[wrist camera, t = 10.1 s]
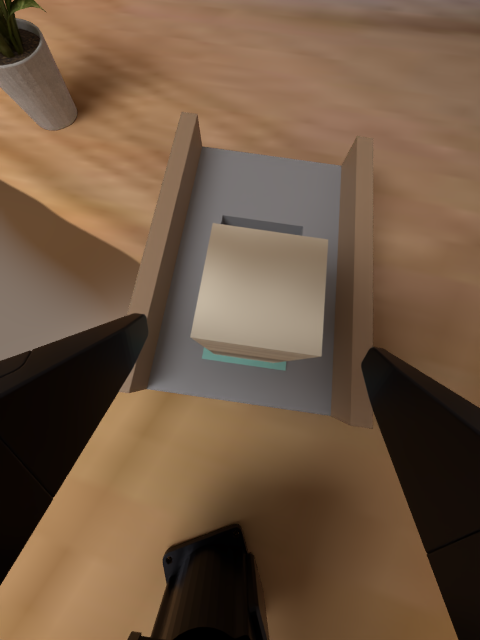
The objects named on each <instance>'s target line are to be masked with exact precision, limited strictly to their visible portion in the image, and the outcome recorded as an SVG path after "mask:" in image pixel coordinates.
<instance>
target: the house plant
mask: <svg viewBox="0 0 480 640" xmlns="http://www.w3.org/2000/svg"><path fill="white" fill-rule="evenodd" d="M5 4H6V6H5ZM0 6H1V7H0V87H1V88H2V89H3V90H4V91H5V92H6V93H7V94H8V95H9V96H10V97H11V98H12V99H13V100H14V101H15V102H16V103H17V104H18V105H19V106H20V107H21V108H22V109H23V110H24V111H25V112H26V113H27V114H28V115H29V116H30V117H31V118H32V119H33V120H34V121H35V122H36V123H37V124H38V125H39V126H40V127H42V128H44V129H47V130H59V129H62V128H64V127H67V126H69V125H70V124H72V123H73V122H74V121H75V119H76V117H77V109H76V106H75V104H74V102H73V100H72V98H71V96H70V93H69V91H68V89H67V87H66V85H65V82H64V80H63V78H62V76H61V74H60V72H59V69H58V67H57V65H56V63H55V61H54V59H53V56H52V54H51V52H50V50H49V48H48V45H47V43H46V41H45V39H44V37H43V35H42V33H41V31H40V30H39V28H38V27H37V26H35V25H34V24H33V23H31V22H29V21H26V20H23V19H18V18H15V14H14V12H16V11H18V10H20V9H24V8H28V7H37V8H41V7H40V6H39V5H38V4H37V3H36V2H35V1H34V0H14V1H13V2H11V0H5V3H4V0H0ZM6 8H7V9H6ZM41 9H42V8H41ZM42 10H43V9H42ZM44 11H45V10H44ZM45 12H46V11H45ZM3 14H4V15H3Z"/></svg>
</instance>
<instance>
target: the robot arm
mask: <svg viewBox="0 0 480 640" xmlns="http://www.w3.org/2000/svg"><path fill="white" fill-rule="evenodd" d="M147 337H148V324H147V317H146V315H145V314H140V313H133V314H130V315H127V316H124V317H122V318H119V319H116V320H114V321H111V322H108V323H105V324H103V325H99V326H97V327H94V328H91V329H88V330H86V331H83V332H80V333H78V334H75V335H72V336H69V337H66V338H63V339H61V340H58V341H55V342H52V343H50V344H47V345H44V346H41V347H38V348H36V349H33V350H32V351H27V352H24V353H22V354H19V355H16V356H13V357H10V358H7V359H5V360H2V361H0V585H1V584H2V582H3V580H4V579H5V577H6V575H7V574H8V572H9V571H10V569H11V567H12V566H13V564H14V562H15V561H16V559H17V557H18V556H19V554H20V553H21V551H22V549H23V548H24V546H25V544H26V543H27V541H28V540H29V538H30V536H31V535H32V533H33V531H34V530H35V528H36V526H37V525H38V523H39V522H40V520H41V518H42V517H43V515H44V513H45V512H46V510H47V508H48V507H49V505H50V504H51V502H52V500H53V497H55V495H56V493H57V492H58V490H59V488H60V487H61V485H62V484H63V482H64V480H65V479H66V477H67V475H68V474H69V472H70V471H71V469H72V467H73V466H74V464H75V462H76V461H77V459H78V457H79V456H80V454H81V453H82V451H83V449H84V448H85V446H86V444H87V443H88V441H89V439H90V438H91V436H92V435H93V433H94V431H95V430H96V428H97V426H98V425H99V423H100V422H101V420H102V418H103V417H104V415H105V413H106V412H107V410H108V408H109V407H110V405H111V404H112V402H113V400H114V399H115V397H116V395H117V394H118V392H119V390H120V389H121V387H122V386H123V384H124V382H125V381H126V379H127V377H128V376H129V374H130V372H131V371H132V369H133V367H134V365H135V363H136V361H137V359H138V357H139V354H140V352H141V350H142V348H143V346H144V344H145V341H146V339H147ZM361 369H362V373H363V377H364V381H365V385H366V389H367V393H368V397H369V400H370V404H371V406H372V409H373V412H374V415H375V417H376V420H377V423H378V425H379V428H380V431H381V433H382V436H383V439H384V441H385V444H386V447H387V449H388V452H389V455H390V457H391V460H392V463H393V465H394V468H395V471H396V473H397V476H398V479H399V481H400V484H401V487H402V489H403V492H404V495H405V497H406V500H407V503H408V505H409V508H410V511H411V513H412V516H413V519H414V521H415V524H416V527H417V529H418V532H419V535H420V537H421V540H422V543H423V546H424V548H425V551H426V553H428V554H427V557H428V559H429V562H430V565H431V567H432V570H433V573H434V575H435V578H436V581H437V583H438V586H439V589H440V591H441V594H442V597H443V599H444V602H445V605H446V608H447V610H448V613H449V616H450V618H451V621H452V624H453V626H454V629H455V632H456V634H457V637H458V640H480V408H479V407H477V406H475V405H474V404H472V403H471V402H469V401H467V400H466V399H464V398H463V397H461V396H459V395H458V394H456V393H454V392H453V391H451V390H450V389H448V388H446V387H445V386H443V385H441V384H440V383H438V382H437V381H435V380H433V379H432V378H430V377H428V376H427V375H425V374H424V373H422V372H420V371H419V370H417V369H416V368H414V367H412V366H411V365H409V364H407V363H406V362H404V361H403V360H401V359H399V358H398V357H396V356H394V355H393V354H391V353H390V352H388V351H386V350H385V349H383V348H377V347H371V348H370V349H369V350H368V352H367V354H366V355H365V357H364V359H363V361H362V363H361ZM234 531H238V532H239V533H238V534H236V535H235V534H234ZM168 556H170V557H172V559H171V560H169V559H168V558H167V557H168ZM163 567H164V572H165V577H166V583H167V586H166V589H165V592H164V595H163V598H162V602H161V605H160V608H159V611H158V614H157V618H156V621H155V624H154V627H153V630H152V634H151V637H144V636H141V633H140V632H134V631H132V632H131V634H130V636H129V638H128V640H269V633H268V625H267V617H266V609H265V602H264V594H263V588H262V585H261V581H260V577H259V573H258V569H257V566H256V562H255V558H254V555H253V554H252V553H251V552H250V553H248V551H247V547H246V543H245V539H244V535H243V531H242V528H241V526H240V525H239V524H233V525H230V526H228V527H225V528H223V529H220V530H217V531H215V532H212V533H209V534H207V535H204V536H201V537H199V538H196V539H194V540H191V541H188V542H186V543H183V544H180V545H178V546H175V547H172V548H170V549H168V550H167V551H166V552H165V554H164V557H163Z"/></svg>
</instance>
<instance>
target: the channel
mask: <svg viewBox="0 0 480 640" xmlns="http://www.w3.org/2000/svg"><path fill="white" fill-rule="evenodd" d="M213 223H216V224H223V225H230V226H237V227H244V228H251V229H258V230H265V231H272V232H279V233H286V234H293V235H300V236H307V237H314V238H321V239H328V252H327V269H326V287H325V304H324V321H323V339H322V356H321V357H315V358H307V359H300V360H292V361H285V362H278V363H270V362H263V361H257V360H250V359H243V358H236V357H230V356H223V355H216V354H213V353H212V352H210V351H209V350H208V349H206V348H205V347H203V346H202V345H200V344H199V343H198V342H196V341H195V340H193V339H192V338H190V336H191V331H192V326H193V320H194V315H195V310H196V305H197V300H198V295H199V290H200V285H201V280H202V275H203V270H204V265H205V260H206V255H207V250H208V245H209V240H210V235H211V230H212V224H213ZM133 313H140V314H145V315H146V317H147V324H148V337H147V339H146V341H145V344H144V346H143V348H142V350H141V352H140V354H139V357H138V359H137V361H136V363H135V365H134V367H133V369H132V371H131V372H130V374H129V376H128V377H127V379H126V381H125V382H124V384H123V386H122V387H121V389H120V390H119V392H125V393H131V392H136V391H140V390H144V389H151V390H158V391H164V392H171V393H178V394H185V395H192V396H199V397H206V398H212V399H219V400H226V401H233V402H240V403H247V404H253V405H260V406H267V407H274V408H281V409H288V410H295V411H301V412H308V413H315V414H322V415H329V416H332V417H334V418H336V419H338V420H340V421H342V422H344V423H346V424H348V425H350V426H357V427H364V428H371V429H373V409H372V406H371V404H370V400H369V397H368V393H367V389H366V385H365V381H364V377H363V373H362V369H361V363H362V361H363V359H364V357H365V355H366V354H367V352H368V350H369V349H370V348H371V347H373V138H369V137H361V136H357V137H356V139H355V141H354V143H353V145H352V147H351V149H350V150H349V152H348V154H347V156H346V158H345V160H344V162H343V164H342V166H339V165H332V164H324V163H317V162H310V161H303V160H295V159H288V158H281V157H274V156H267V155H259V154H252V153H245V152H238V151H230V150H223V149H216V148H209V147H202V142H201V135H200V129H199V122H198V115H197V114H194V113H187V112H181V115H180V119H179V123H178V127H177V130H176V134H175V138H174V141H173V145H172V149H171V153H170V156H169V160H168V164H167V168H166V171H165V175H164V179H163V182H162V186H161V190H160V194H159V197H158V201H157V205H156V209H155V212H154V216H153V220H152V223H151V227H150V231H149V235H148V238H147V242H146V246H145V249H144V253H143V257H142V261H141V264H140V268H139V272H138V276H137V279H136V283H135V287H134V291H133V294H132V298H131V302H130V306H129V309H128V313H127V315H130V314H133Z"/></svg>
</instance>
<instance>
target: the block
mask: <svg viewBox="0 0 480 640" xmlns="http://www.w3.org/2000/svg"><path fill="white" fill-rule="evenodd" d="M327 252H328V239H321V238H314V237H307V236H300V235H293V234H286V233H279V232H272V231H265V230H258V229H251V228H244V227H237V226H230V225H223V224H216V223H213V224H212V230H211V235H210V240H209V245H208V250H207V255H206V260H205V265H204V270H203V275H202V280H201V285H200V290H199V295H198V300H197V305H196V310H195V315H194V320H193V326H192V331H191V336H190V338H192V339H193V340H195V341H196V342H198V343H199V344H200V345H202V346H203V347H205V348H206V349H208V350H209V351H210V352H212V353H213V354H216V355H223V356H230V357H236V358H243V359H250V360H257V361H263V362H270V363H278V362H285V361H292V360H300V359H307V358H315V357H321V356H322V339H323V321H324V304H325V287H326V269H327Z"/></svg>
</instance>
